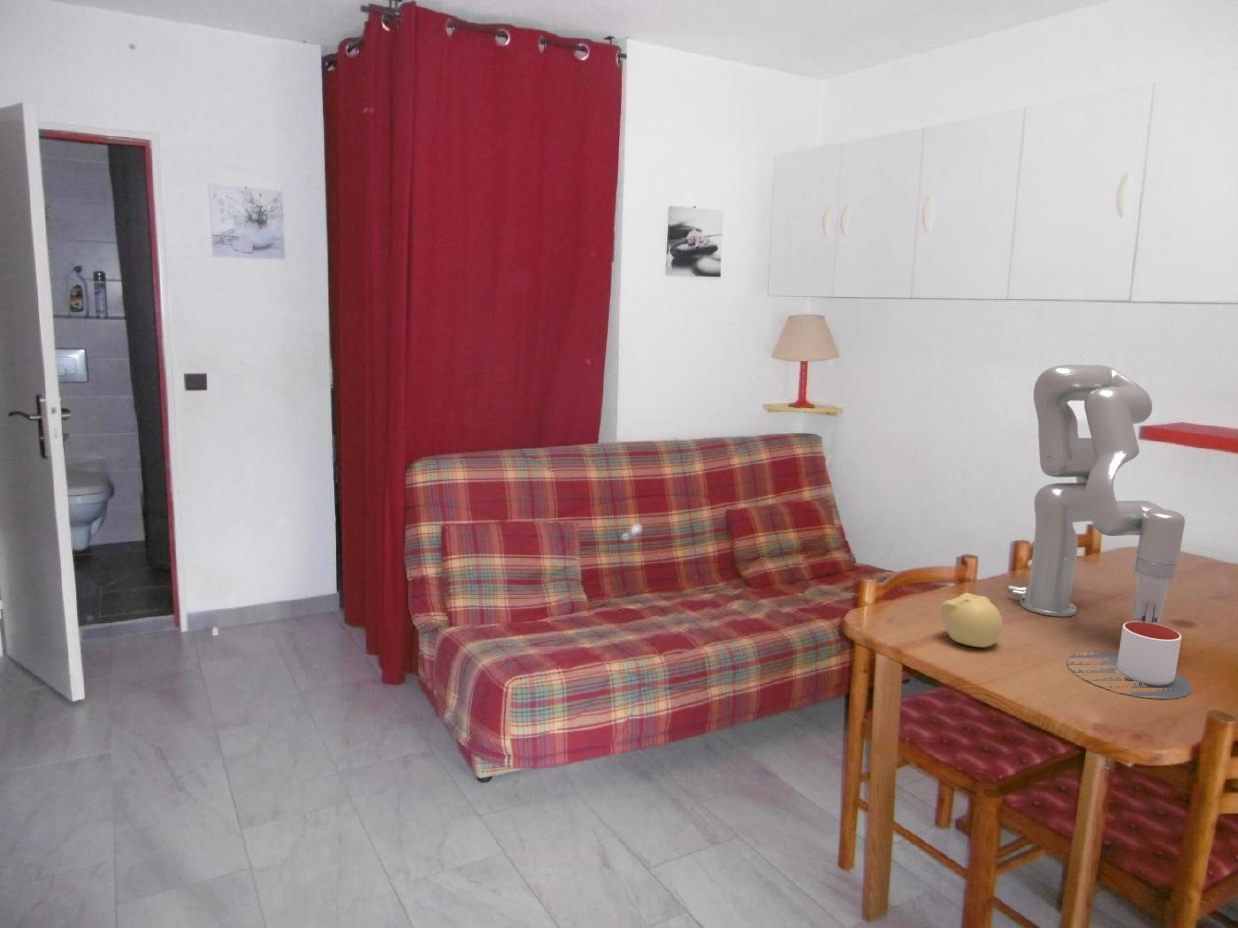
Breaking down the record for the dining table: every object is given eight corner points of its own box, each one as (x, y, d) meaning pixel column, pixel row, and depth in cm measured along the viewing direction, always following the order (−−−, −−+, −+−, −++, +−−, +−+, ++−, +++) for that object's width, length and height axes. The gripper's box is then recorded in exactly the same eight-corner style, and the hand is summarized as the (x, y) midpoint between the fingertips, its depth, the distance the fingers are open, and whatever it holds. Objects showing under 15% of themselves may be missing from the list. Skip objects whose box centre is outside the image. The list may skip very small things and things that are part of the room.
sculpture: (970, 628, 195) (975, 584, 193) (1011, 649, 184) (1016, 602, 182) (930, 634, 191) (935, 589, 188) (970, 655, 180) (975, 607, 178)
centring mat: (1063, 680, 168) (1063, 680, 168) (1069, 644, 187) (1069, 643, 187) (1195, 710, 157) (1195, 709, 157) (1187, 668, 176) (1188, 667, 176)
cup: (1119, 662, 178) (1126, 617, 176) (1175, 675, 172) (1183, 629, 170) (1113, 678, 170) (1120, 631, 168) (1171, 692, 164) (1179, 644, 162)
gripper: (1135, 555, 187) (1123, 633, 191) (1134, 573, 174) (1121, 656, 178) (1175, 561, 183) (1162, 640, 187) (1178, 580, 171) (1163, 665, 174)
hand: (1142, 648), depth 182 cm, fingers closed
